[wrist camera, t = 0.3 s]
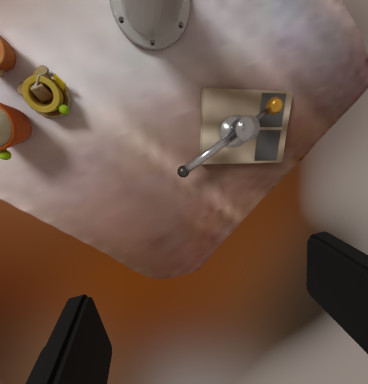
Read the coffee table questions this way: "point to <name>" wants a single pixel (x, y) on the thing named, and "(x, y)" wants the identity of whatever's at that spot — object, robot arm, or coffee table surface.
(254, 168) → the coffee table surface
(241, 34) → the coffee table surface
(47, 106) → the toy tea set
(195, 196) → the coffee table surface
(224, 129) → the ball-knob lever handle
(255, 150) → the stand
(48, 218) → the coffee table surface
